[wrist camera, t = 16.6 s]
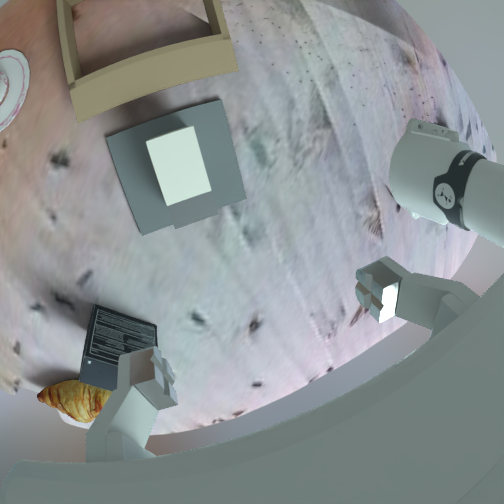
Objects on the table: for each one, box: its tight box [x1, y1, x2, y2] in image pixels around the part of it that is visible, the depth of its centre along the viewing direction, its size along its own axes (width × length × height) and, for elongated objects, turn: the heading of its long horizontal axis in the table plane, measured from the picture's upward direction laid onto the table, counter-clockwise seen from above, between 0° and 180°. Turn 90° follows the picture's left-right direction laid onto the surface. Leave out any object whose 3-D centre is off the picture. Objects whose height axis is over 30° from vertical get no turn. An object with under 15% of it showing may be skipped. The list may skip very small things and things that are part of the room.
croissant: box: [37, 380, 113, 423], centre depth 38 cm, size 21×10×8 cm
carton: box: [56, 0, 239, 124], centre depth 19 cm, size 18×23×4 cm
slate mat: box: [106, 99, 247, 236], centre depth 30 cm, size 14×13×1 cm
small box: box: [79, 305, 158, 391], centre depth 33 cm, size 11×6×10 cm, turn 57°
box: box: [146, 126, 218, 229], centre depth 27 cm, size 4×9×7 cm, turn 13°
